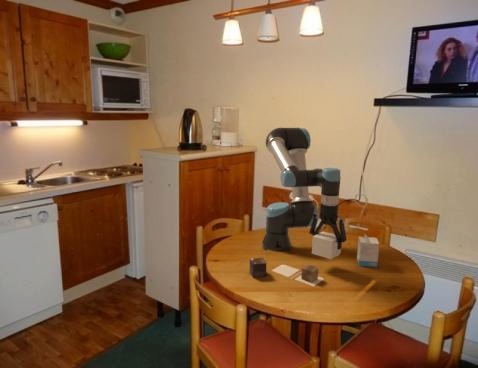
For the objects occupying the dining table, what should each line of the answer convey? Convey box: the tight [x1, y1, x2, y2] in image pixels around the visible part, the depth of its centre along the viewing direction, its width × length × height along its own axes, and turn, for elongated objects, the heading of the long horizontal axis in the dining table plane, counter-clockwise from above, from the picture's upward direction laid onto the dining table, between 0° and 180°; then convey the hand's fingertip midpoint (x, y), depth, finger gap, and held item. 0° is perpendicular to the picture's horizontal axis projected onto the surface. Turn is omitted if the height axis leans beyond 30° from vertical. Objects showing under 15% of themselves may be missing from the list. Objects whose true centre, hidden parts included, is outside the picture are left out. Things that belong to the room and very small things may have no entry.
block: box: [301, 263, 319, 283], centre depth 145 cm, size 5×5×5 cm
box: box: [249, 257, 267, 279], centre depth 149 cm, size 6×6×7 cm
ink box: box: [356, 233, 380, 268], centre depth 163 cm, size 9×8×13 cm
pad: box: [271, 264, 300, 278], centre depth 153 cm, size 9×9×1 cm
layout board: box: [289, 270, 325, 287], centre depth 150 cm, size 22×14×1 cm, turn 49°
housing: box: [311, 231, 342, 260], centre depth 153 cm, size 9×9×8 cm
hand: (326, 252), depth 154 cm, fingers closed on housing, 9 cm apart
